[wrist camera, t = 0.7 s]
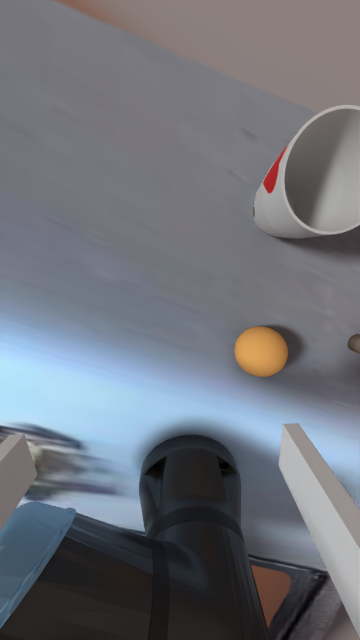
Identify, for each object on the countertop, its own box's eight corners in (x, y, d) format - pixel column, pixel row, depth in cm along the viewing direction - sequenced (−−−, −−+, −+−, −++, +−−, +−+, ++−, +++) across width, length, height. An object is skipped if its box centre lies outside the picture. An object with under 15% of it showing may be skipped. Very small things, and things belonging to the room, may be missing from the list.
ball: (270, 363, 29) (294, 386, 24) (227, 363, 29) (241, 387, 23) (275, 321, 28) (302, 334, 22) (230, 321, 28) (245, 334, 22)
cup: (279, 154, 24) (354, 73, 14) (322, 211, 25) (416, 175, 15) (225, 210, 25) (258, 172, 15) (268, 261, 26) (325, 257, 16)
